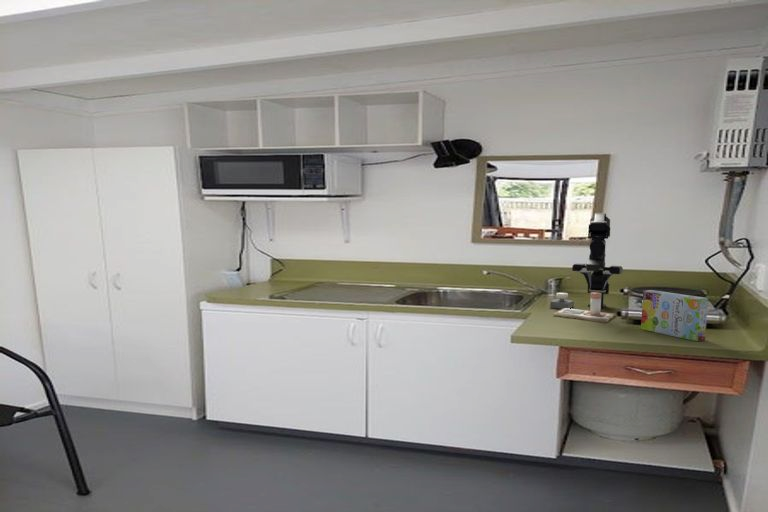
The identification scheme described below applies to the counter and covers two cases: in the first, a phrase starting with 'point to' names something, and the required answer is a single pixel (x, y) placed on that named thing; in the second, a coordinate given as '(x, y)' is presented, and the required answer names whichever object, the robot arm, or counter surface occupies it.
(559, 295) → the button
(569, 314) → the picture board
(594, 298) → the orange topped white container
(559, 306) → the button base
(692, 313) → the snack box
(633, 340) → the counter surface
